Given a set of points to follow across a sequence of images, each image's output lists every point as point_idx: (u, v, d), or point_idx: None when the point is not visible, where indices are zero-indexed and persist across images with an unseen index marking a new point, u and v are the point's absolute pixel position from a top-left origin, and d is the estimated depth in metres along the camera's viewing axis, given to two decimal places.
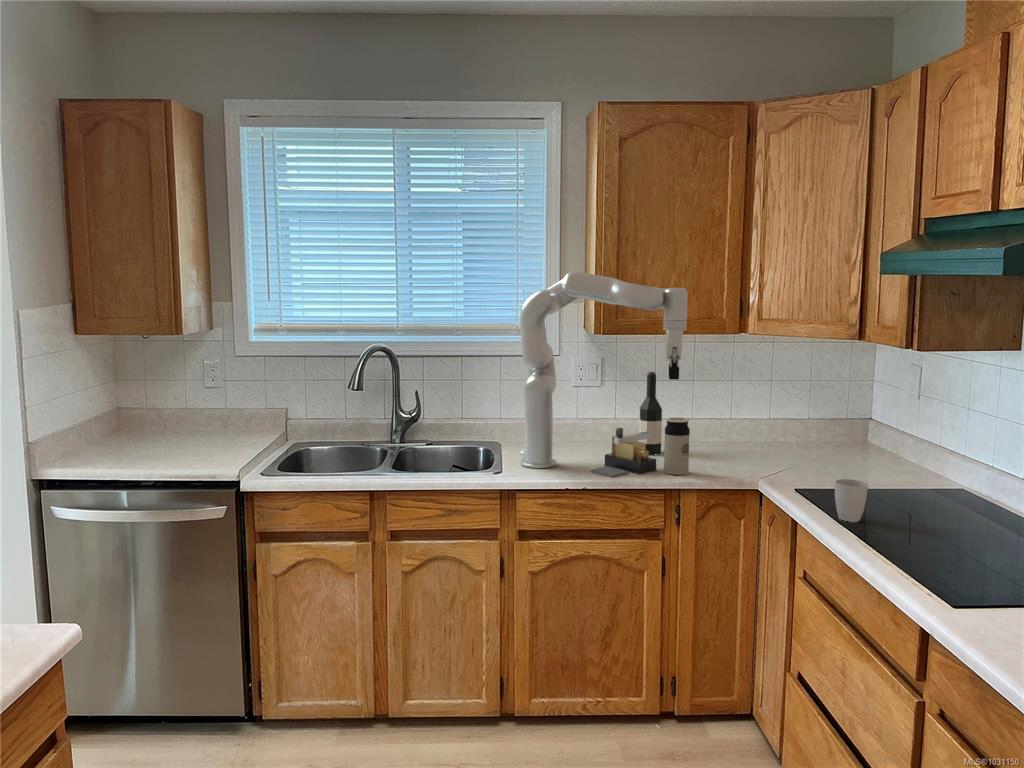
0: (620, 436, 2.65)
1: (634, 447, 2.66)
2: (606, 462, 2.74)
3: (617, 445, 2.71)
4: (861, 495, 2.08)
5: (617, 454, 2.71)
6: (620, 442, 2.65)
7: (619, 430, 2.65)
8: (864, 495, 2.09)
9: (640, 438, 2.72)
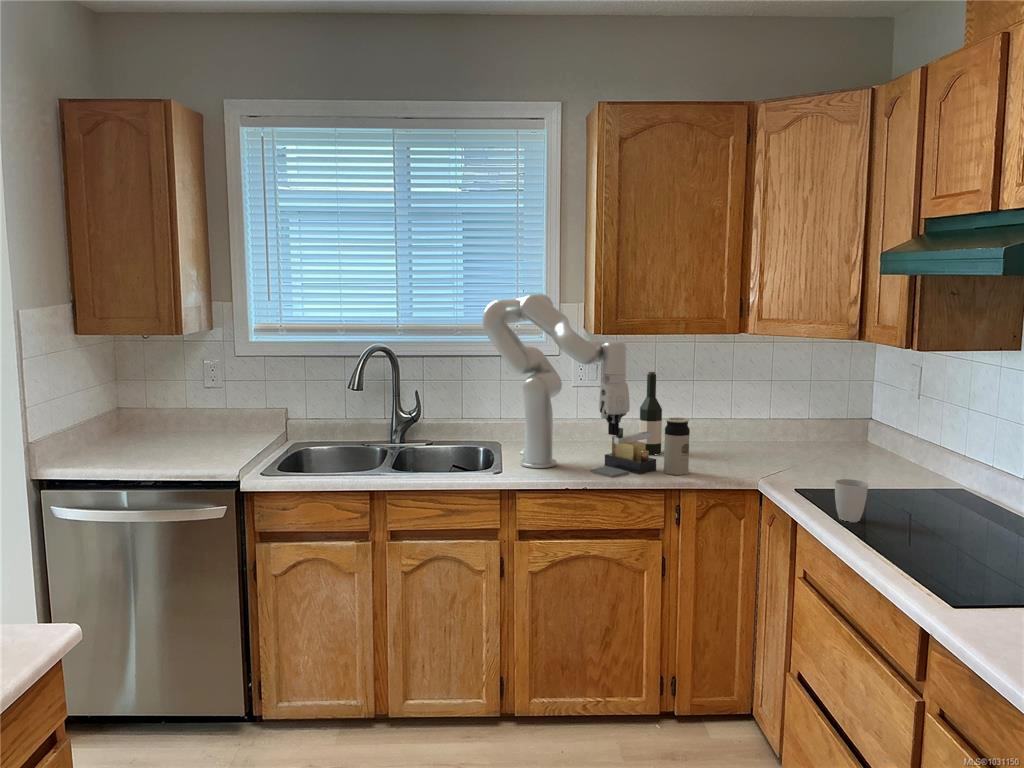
0: (620, 436, 2.65)
1: (634, 447, 2.66)
2: (606, 462, 2.74)
3: (617, 445, 2.71)
4: (861, 495, 2.08)
5: (617, 454, 2.71)
6: (620, 442, 2.66)
7: (619, 430, 2.65)
8: (864, 495, 2.09)
9: (640, 438, 2.72)
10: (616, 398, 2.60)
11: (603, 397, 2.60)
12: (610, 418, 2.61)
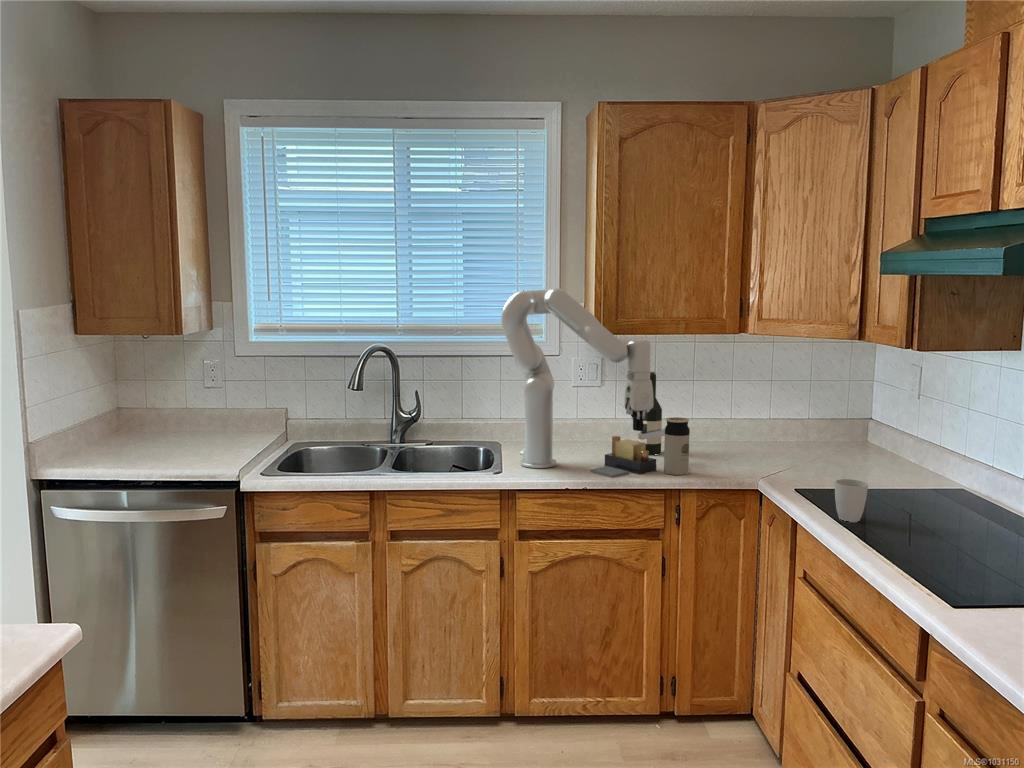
0: (644, 432, 2.73)
1: (634, 447, 2.66)
2: (606, 462, 2.74)
3: (617, 445, 2.71)
4: (861, 495, 2.08)
5: (617, 454, 2.71)
6: (644, 438, 2.73)
7: (643, 426, 2.72)
8: (864, 495, 2.09)
9: (663, 434, 2.79)
10: (641, 394, 2.67)
11: (628, 394, 2.67)
12: (635, 414, 2.69)
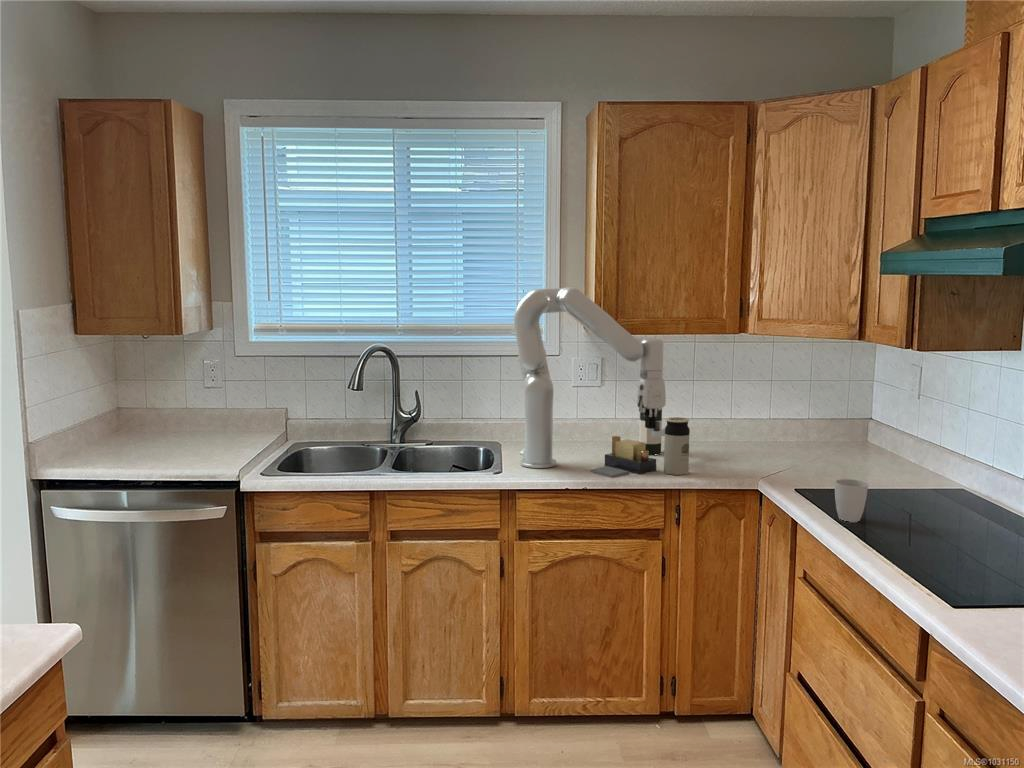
0: (657, 429, 2.77)
1: (634, 447, 2.66)
2: (606, 462, 2.74)
3: (617, 445, 2.71)
4: (861, 495, 2.08)
5: (617, 454, 2.71)
6: (657, 435, 2.77)
7: (656, 424, 2.77)
8: (864, 495, 2.09)
9: None
10: (654, 393, 2.71)
11: (641, 392, 2.71)
12: (647, 412, 2.73)
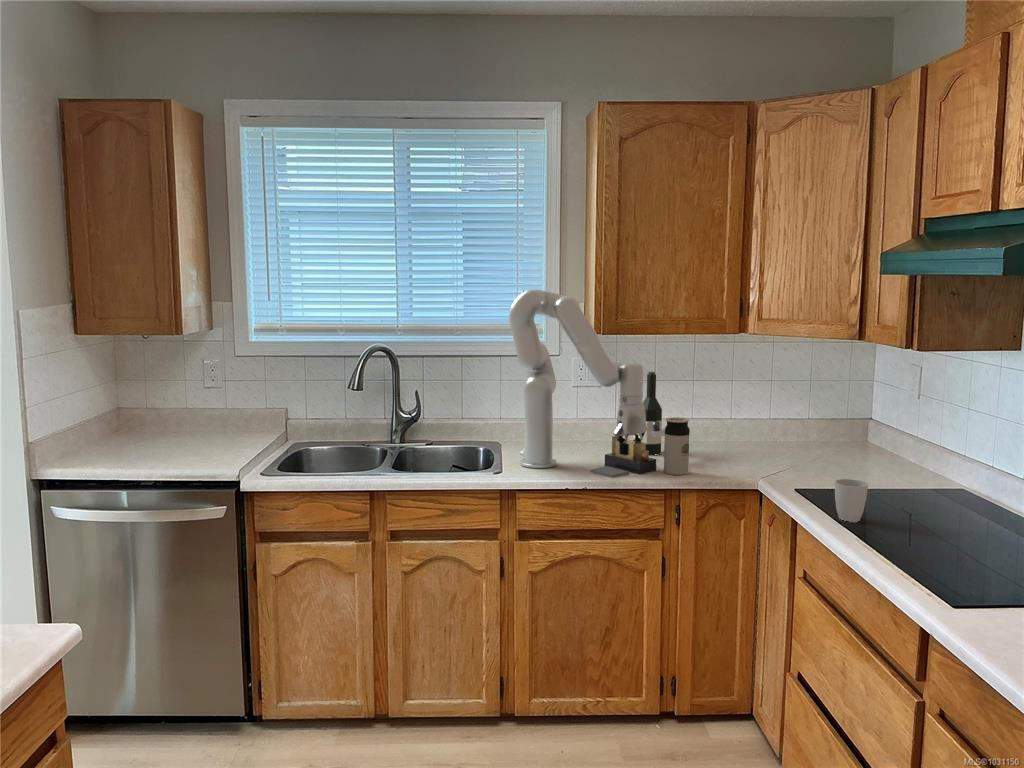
0: (657, 429, 2.77)
1: (634, 447, 2.66)
2: (606, 462, 2.74)
3: (617, 445, 2.71)
4: (861, 495, 2.08)
5: (617, 454, 2.71)
6: (657, 435, 2.77)
7: (656, 424, 2.77)
8: (864, 495, 2.09)
9: None
10: (633, 418, 2.66)
11: (620, 418, 2.66)
12: (621, 438, 2.66)
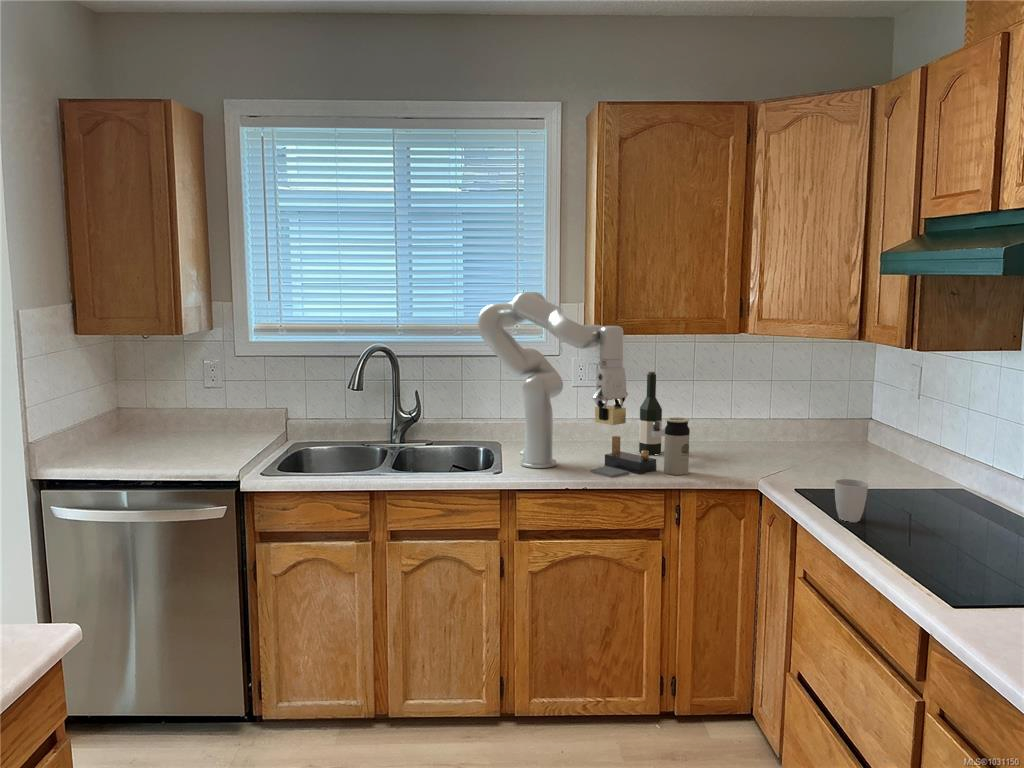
0: (657, 429, 2.77)
1: (614, 412, 2.58)
2: (606, 462, 2.74)
3: (597, 410, 2.63)
4: (861, 495, 2.08)
5: (597, 420, 2.63)
6: (657, 435, 2.77)
7: (656, 424, 2.77)
8: (864, 495, 2.09)
9: None
10: (613, 382, 2.58)
11: (600, 382, 2.58)
12: (601, 403, 2.58)
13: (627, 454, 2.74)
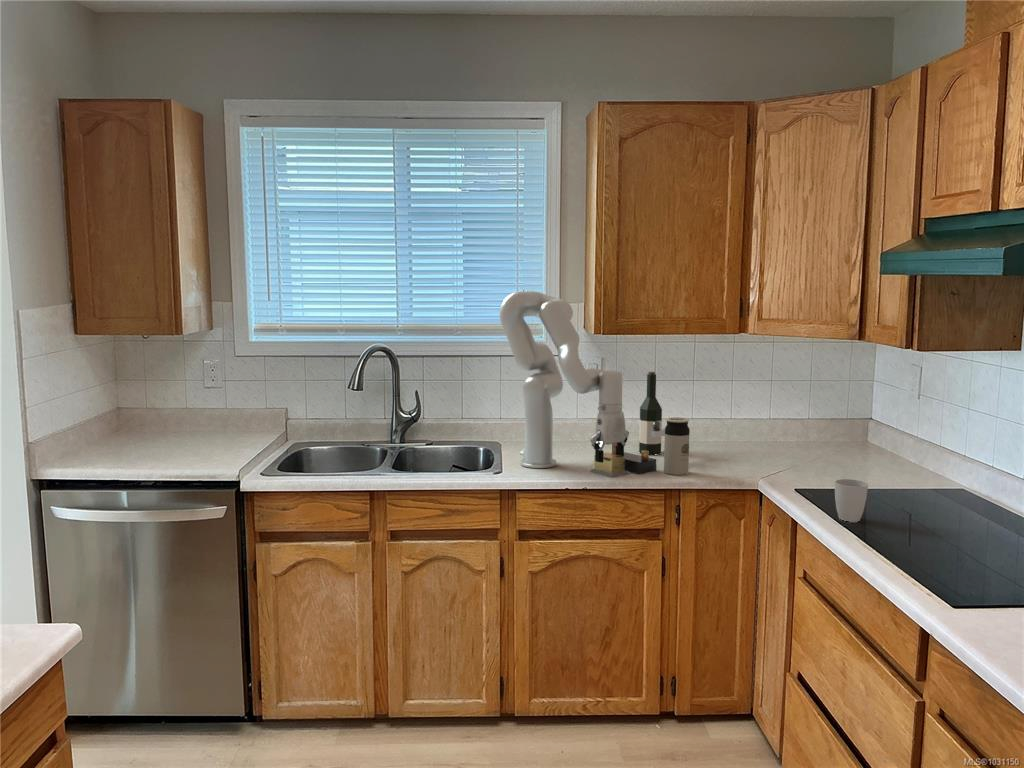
0: (657, 429, 2.77)
1: (613, 461, 2.60)
2: None
3: None
4: (861, 495, 2.08)
5: (596, 468, 2.65)
6: (657, 435, 2.77)
7: (656, 424, 2.77)
8: (864, 495, 2.09)
9: None
10: (612, 427, 2.60)
11: (599, 427, 2.60)
12: (597, 445, 2.59)
13: (627, 454, 2.74)
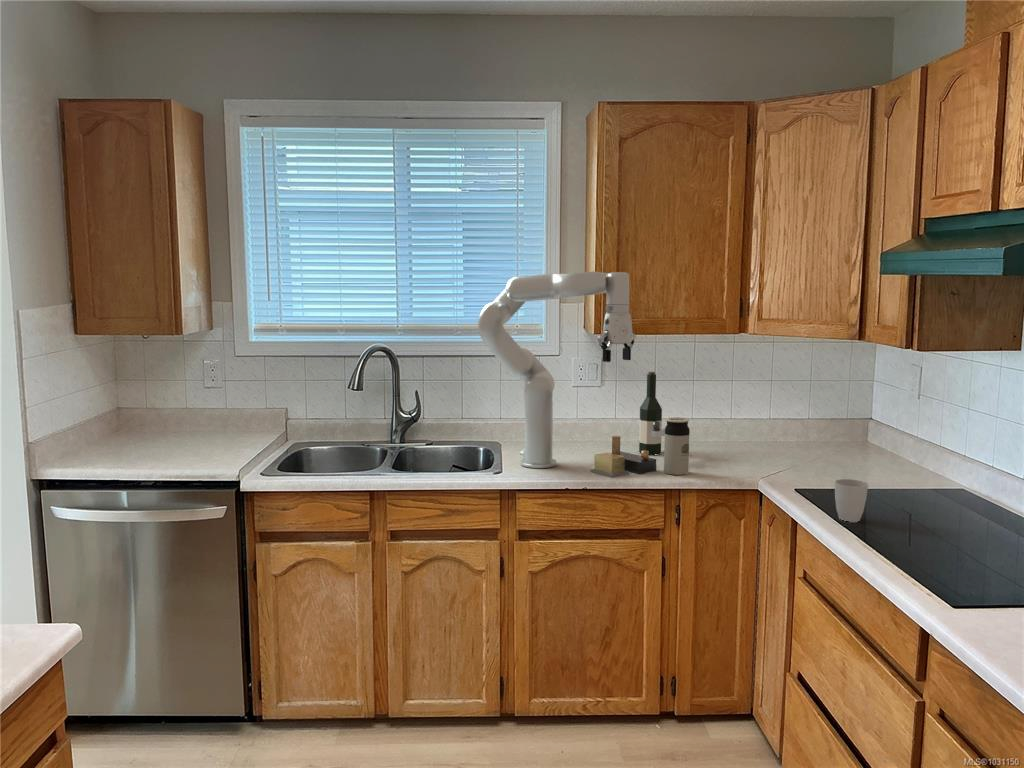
0: (657, 429, 2.77)
1: (613, 461, 2.60)
2: None
3: (596, 458, 2.65)
4: (861, 495, 2.08)
5: (596, 468, 2.65)
6: (657, 435, 2.77)
7: (656, 424, 2.77)
8: (864, 495, 2.09)
9: None
10: (620, 327, 2.65)
11: (606, 327, 2.65)
12: (604, 344, 2.64)
13: (627, 454, 2.74)
